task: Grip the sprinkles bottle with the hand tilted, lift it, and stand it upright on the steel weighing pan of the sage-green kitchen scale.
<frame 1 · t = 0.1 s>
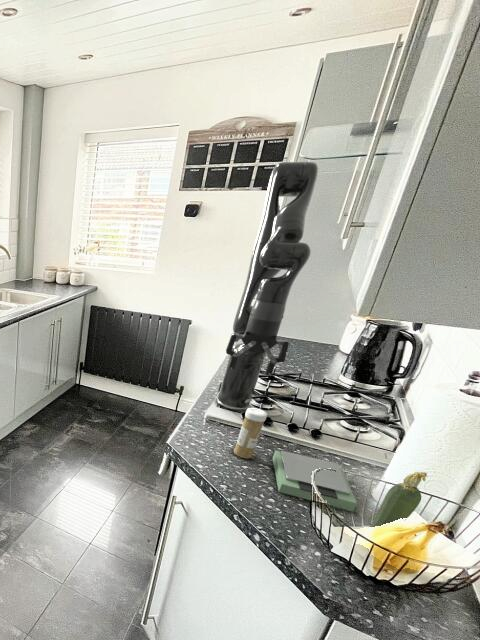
hand: (249, 371, 123), 17 cm above the counter, tool pointing down, fingers open, 8 cm apart
vegetable: (373, 550, 85), on the counter
sprinkles bottle: (242, 454, 115), on the counter
scale: (309, 482, 104), on the counter
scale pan: (312, 471, 104), point 3 cm above the counter, slide at -0.3 cm, touching scale
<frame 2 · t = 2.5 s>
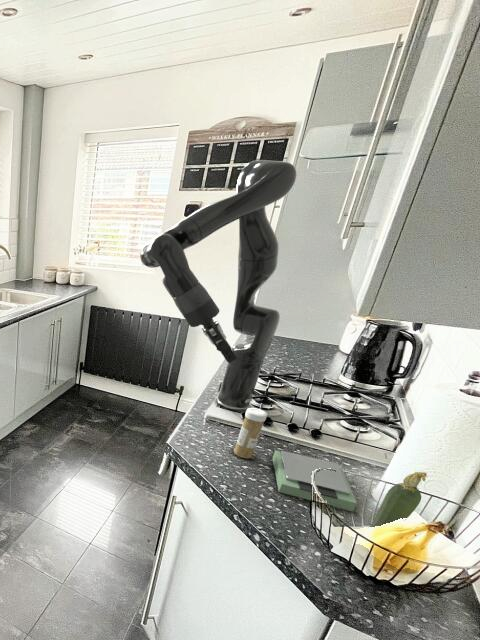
hand: (230, 355, 108), 27 cm above the counter, tool tilted 40°, fingers open, 8 cm apart
nothing on the counter moved.
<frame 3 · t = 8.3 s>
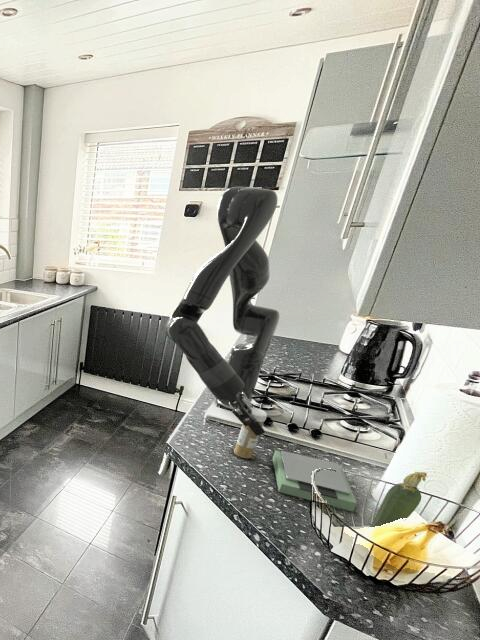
hand: (260, 429, 110), 9 cm above the counter, tool tilted 45°, fingers closed on sprinkles bottle, 4 cm apart
sprinkles bottle: (242, 454, 115), on the counter, touching gripper
everything else where it was.
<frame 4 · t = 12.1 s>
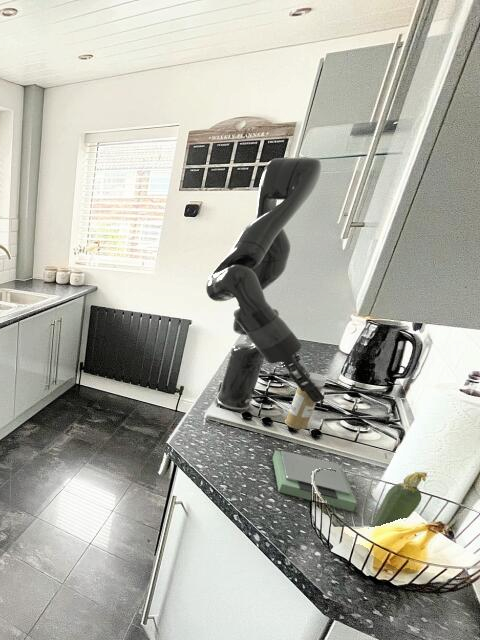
hand: (317, 395, 99), 22 cm above the counter, tool tilted 45°, fingers closed on sprinkles bottle, 4 cm apart
sprinkles bottle: (294, 426, 103), point 13 cm above the counter, touching gripper
everything else where it was.
when the fingers open (12 cm above the counter, at t = 16.2 s): sprinkles bottle stays where it is, resting on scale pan.
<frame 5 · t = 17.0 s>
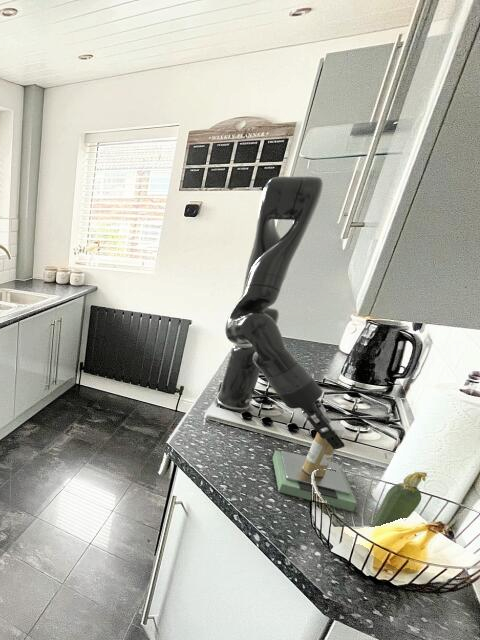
hand: (335, 438, 98), 13 cm above the counter, tool tilted 45°, fingers open, 8 cm apart
sprinkles bottle: (312, 472, 103), point 3 cm above the counter, touching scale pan
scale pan: (312, 471, 104), point 3 cm above the counter, slide at -0.3 cm, touching scale, sprinkles bottle
everything else where it was.
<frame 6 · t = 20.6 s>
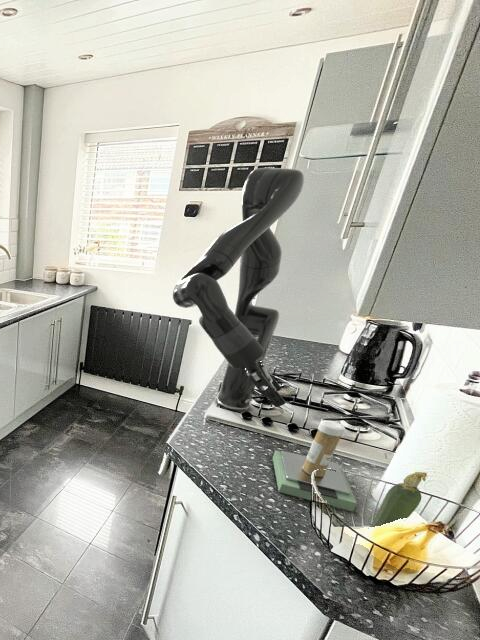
hand: (279, 397, 100), 21 cm above the counter, tool tilted 45°, fingers open, 8 cm apart
nothing on the counter moved.
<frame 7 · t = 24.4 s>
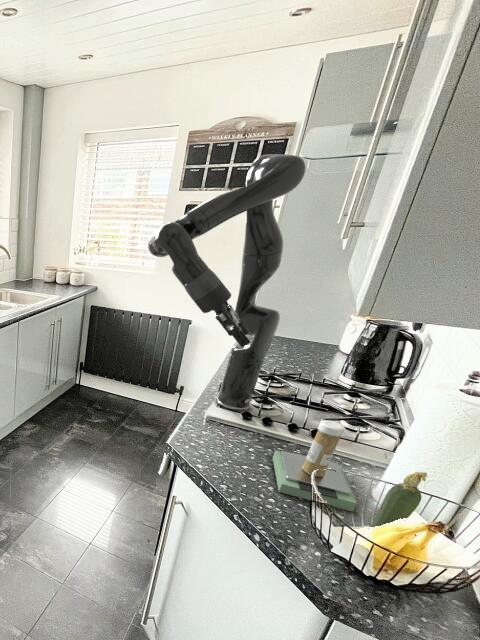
hand: (245, 339, 108), 31 cm above the counter, tool tilted 45°, fingers open, 8 cm apart
nothing on the counter moved.
at the end: sprinkles bottle inside the target area on the scale (0.6 cm from its centre), point 3.0 cm above the scale's base; sprinkles bottle tilted 0°; the gripper is holding nothing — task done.
